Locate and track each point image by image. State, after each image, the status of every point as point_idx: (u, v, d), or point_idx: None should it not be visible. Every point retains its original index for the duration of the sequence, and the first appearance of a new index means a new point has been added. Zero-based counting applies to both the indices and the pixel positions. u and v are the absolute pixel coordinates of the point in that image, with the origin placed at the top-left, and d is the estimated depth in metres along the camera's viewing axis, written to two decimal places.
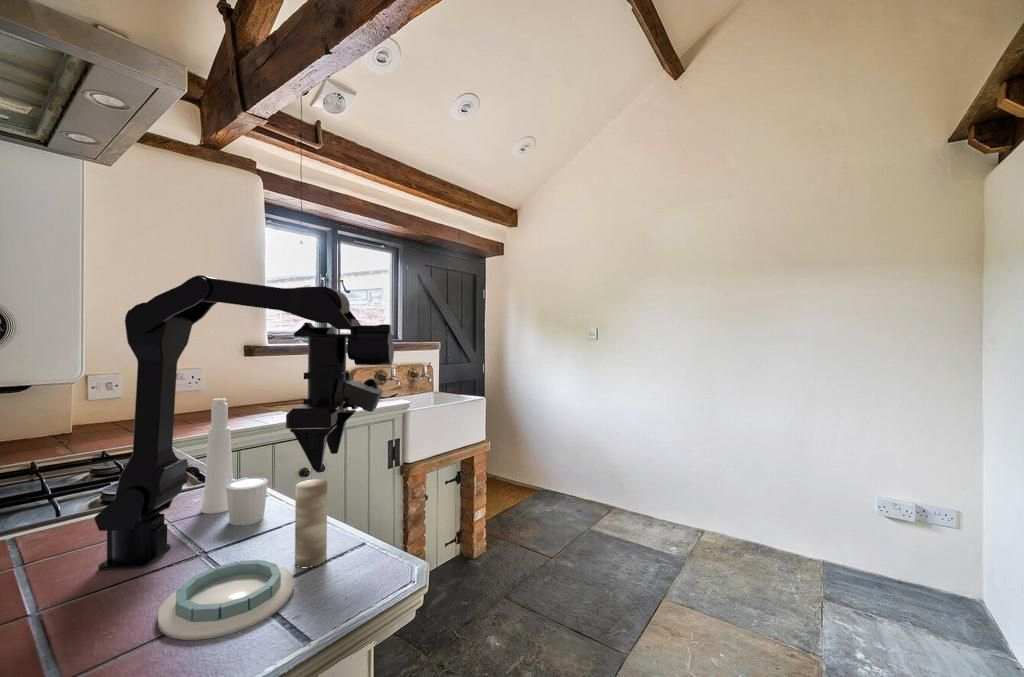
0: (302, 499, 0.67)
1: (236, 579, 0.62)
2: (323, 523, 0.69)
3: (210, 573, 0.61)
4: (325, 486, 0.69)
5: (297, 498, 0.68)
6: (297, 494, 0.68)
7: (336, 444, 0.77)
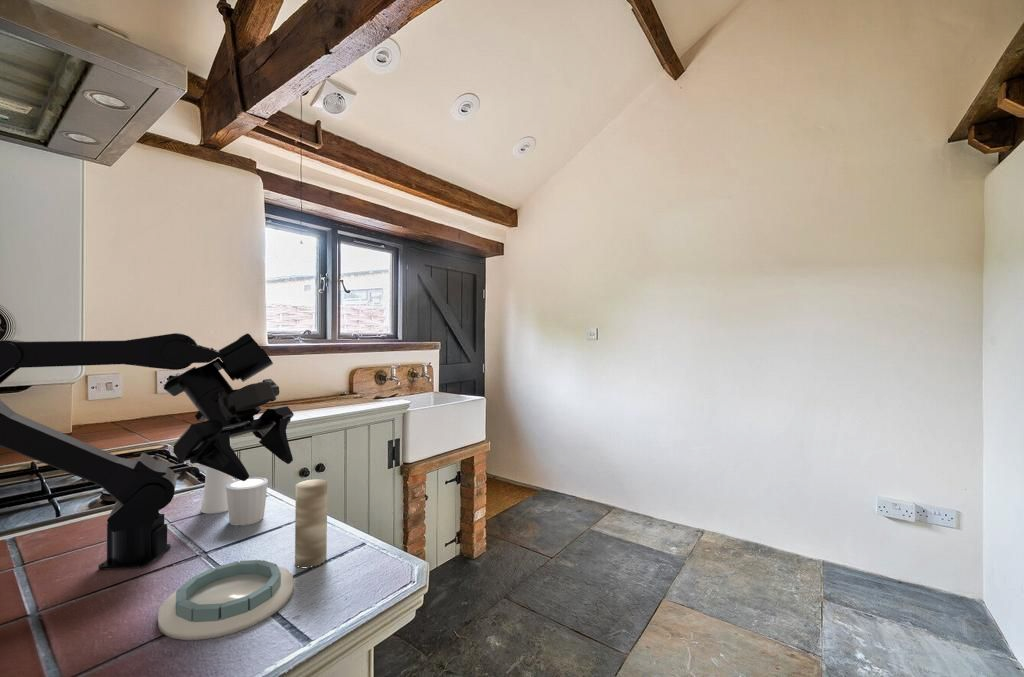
0: (302, 499, 0.67)
1: (236, 579, 0.62)
2: (323, 523, 0.69)
3: (210, 573, 0.61)
4: (325, 486, 0.69)
5: (297, 498, 0.68)
6: (297, 494, 0.68)
7: (285, 453, 0.76)
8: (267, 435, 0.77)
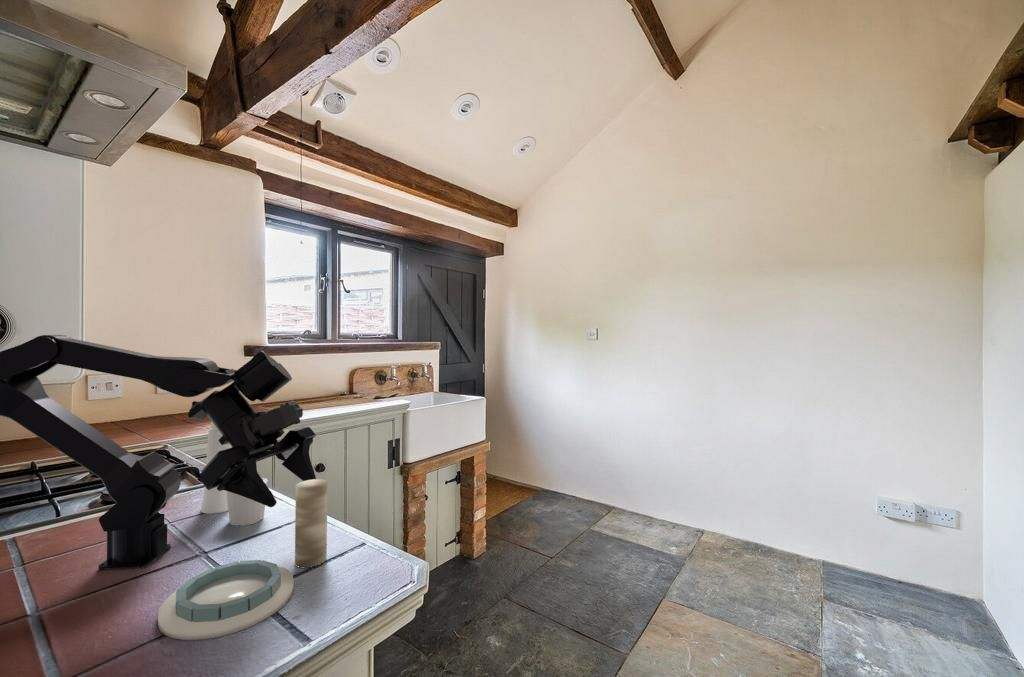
0: (302, 499, 0.67)
1: (236, 579, 0.62)
2: (323, 523, 0.69)
3: (210, 573, 0.61)
4: (325, 486, 0.69)
5: (297, 498, 0.68)
6: (297, 494, 0.68)
7: (309, 476, 0.75)
8: (290, 457, 0.76)
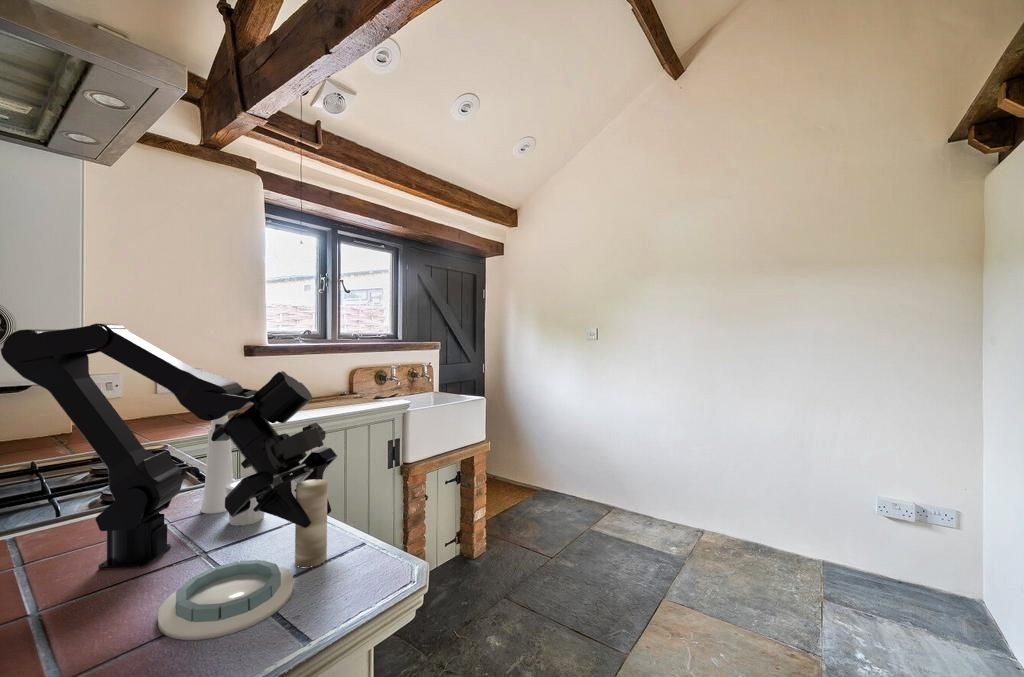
0: (302, 499, 0.67)
1: (236, 579, 0.62)
2: (323, 523, 0.69)
3: (210, 573, 0.61)
4: (325, 486, 0.69)
5: (297, 498, 0.68)
6: (297, 494, 0.68)
7: None
8: None
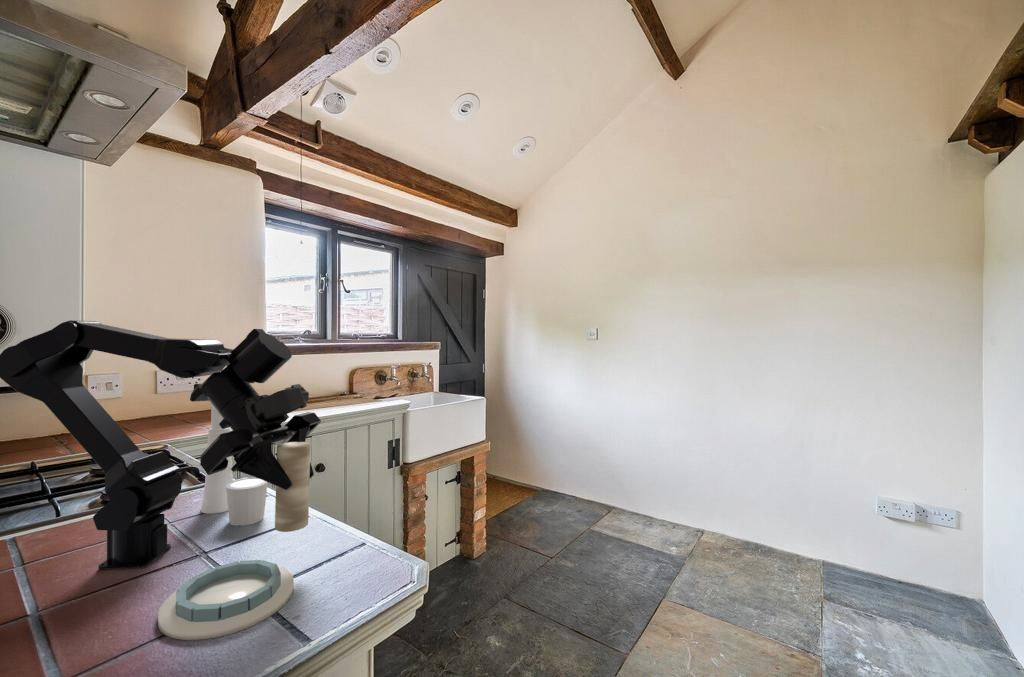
0: (283, 460, 0.65)
1: (236, 579, 0.62)
2: (305, 486, 0.66)
3: (210, 573, 0.61)
4: (308, 448, 0.67)
5: (278, 459, 0.65)
6: (278, 455, 0.65)
7: None
8: None
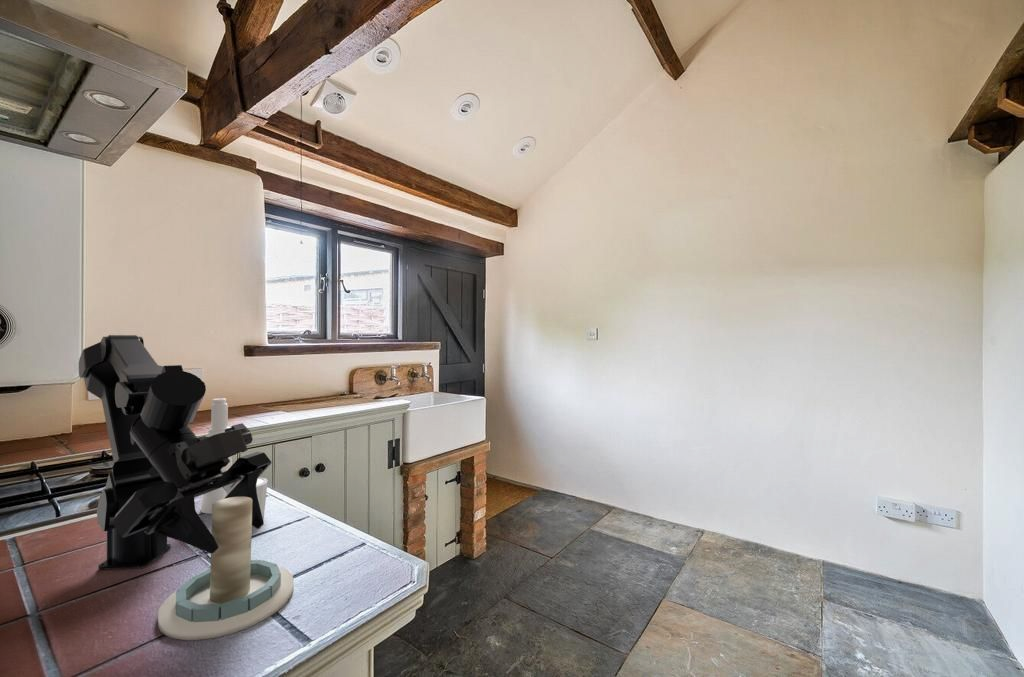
0: (218, 522, 0.57)
1: None
2: (245, 550, 0.58)
3: None
4: (248, 506, 0.59)
5: (213, 520, 0.57)
6: (213, 515, 0.57)
7: (254, 516, 0.62)
8: (233, 492, 0.64)
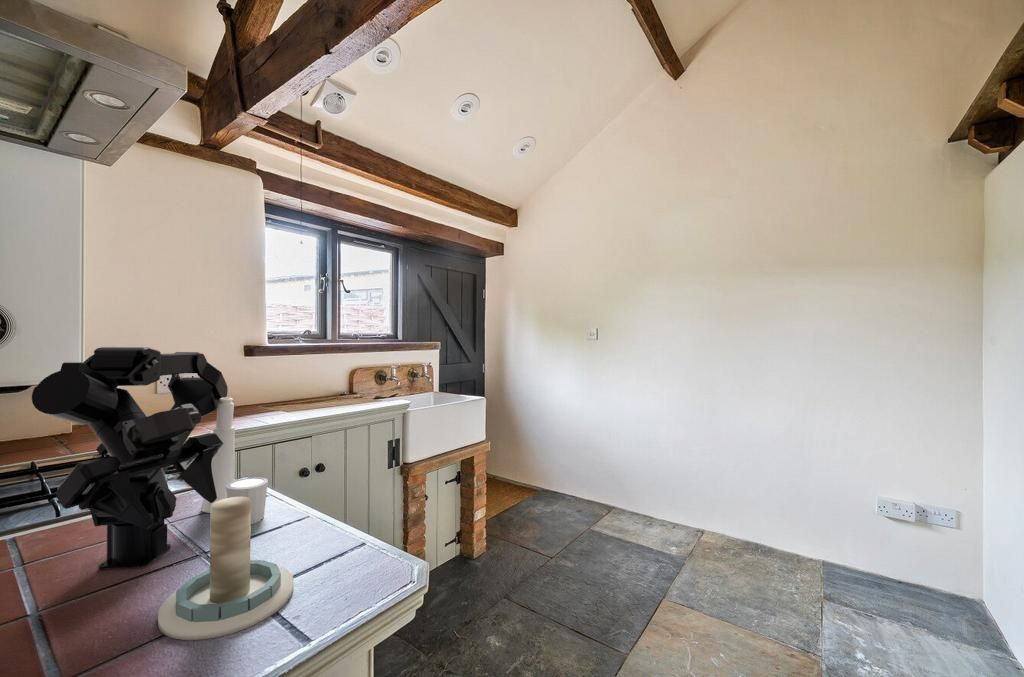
0: (217, 522, 0.57)
1: None
2: (244, 549, 0.58)
3: None
4: (247, 505, 0.59)
5: (211, 520, 0.57)
6: (211, 515, 0.57)
7: (208, 490, 0.65)
8: (189, 468, 0.67)
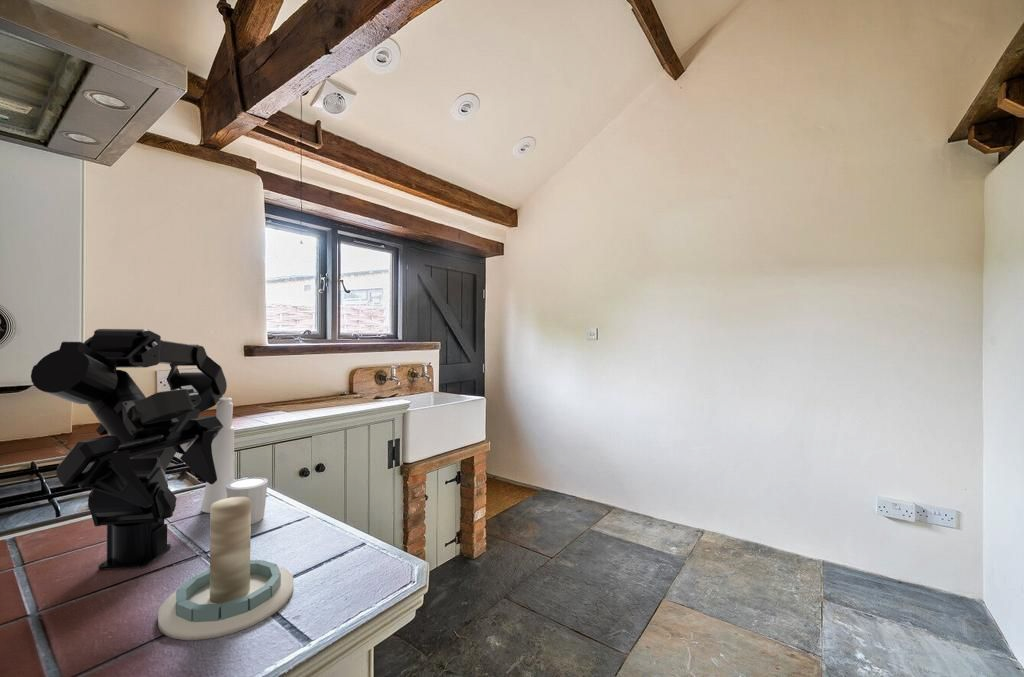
0: (217, 522, 0.57)
1: None
2: (244, 550, 0.58)
3: None
4: (247, 506, 0.59)
5: (211, 520, 0.57)
6: (211, 515, 0.57)
7: (208, 472, 0.65)
8: (189, 450, 0.67)
